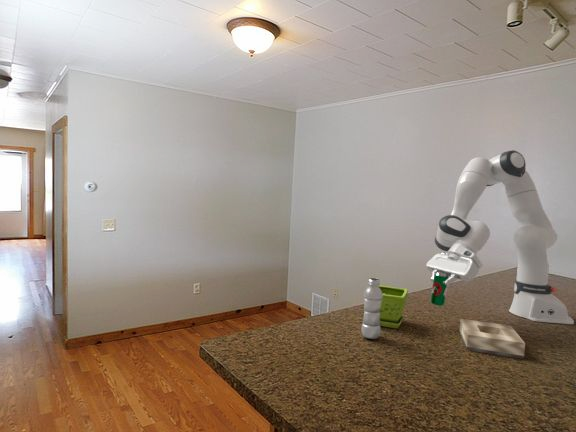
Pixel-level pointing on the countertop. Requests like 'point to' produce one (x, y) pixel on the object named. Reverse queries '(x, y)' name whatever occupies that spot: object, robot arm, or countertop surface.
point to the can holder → (491, 338)
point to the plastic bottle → (372, 310)
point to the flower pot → (392, 306)
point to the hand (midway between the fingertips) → (438, 282)
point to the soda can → (439, 289)
